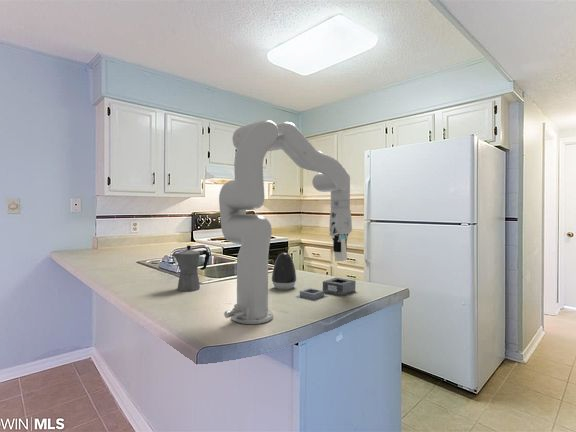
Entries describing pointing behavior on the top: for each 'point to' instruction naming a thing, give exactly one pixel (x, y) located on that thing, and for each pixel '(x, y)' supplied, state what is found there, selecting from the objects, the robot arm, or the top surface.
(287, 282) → the dark egg-shaped speaker
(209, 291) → the top surface
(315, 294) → the grey square open box
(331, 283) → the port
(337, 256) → the blue capped white bottle
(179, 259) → the coffeepot
